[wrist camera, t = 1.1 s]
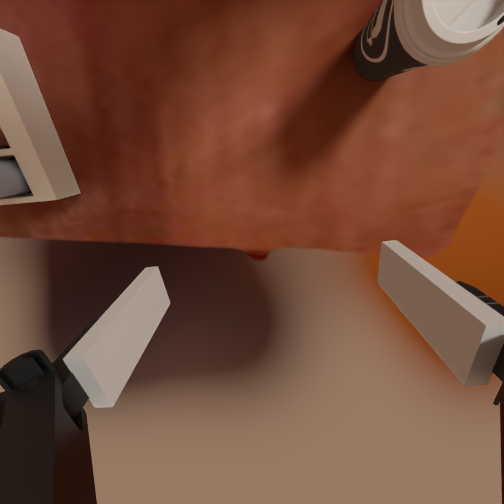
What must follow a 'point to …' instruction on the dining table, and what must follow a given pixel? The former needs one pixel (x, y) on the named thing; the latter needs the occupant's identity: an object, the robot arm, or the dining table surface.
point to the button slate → (12, 179)
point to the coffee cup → (424, 34)
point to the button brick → (3, 139)
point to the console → (30, 130)
